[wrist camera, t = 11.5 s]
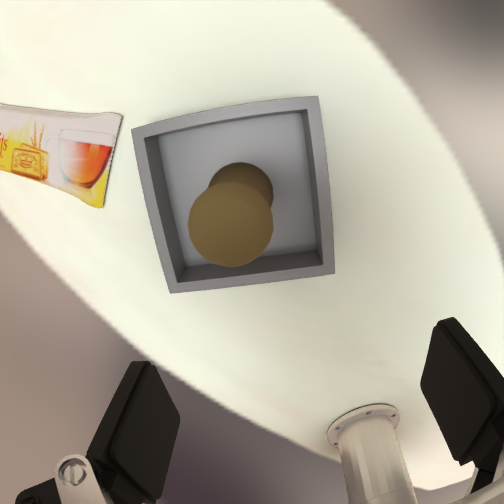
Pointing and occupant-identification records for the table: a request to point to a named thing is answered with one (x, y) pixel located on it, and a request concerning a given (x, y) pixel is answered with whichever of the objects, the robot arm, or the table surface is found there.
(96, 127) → the food package
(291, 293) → the table surface
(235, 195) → the cork
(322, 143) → the tote
